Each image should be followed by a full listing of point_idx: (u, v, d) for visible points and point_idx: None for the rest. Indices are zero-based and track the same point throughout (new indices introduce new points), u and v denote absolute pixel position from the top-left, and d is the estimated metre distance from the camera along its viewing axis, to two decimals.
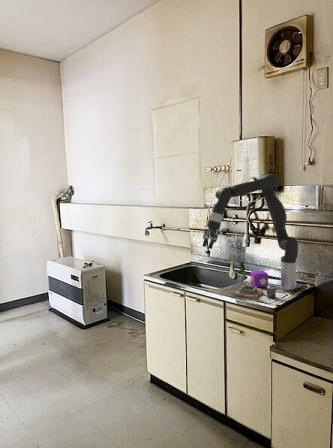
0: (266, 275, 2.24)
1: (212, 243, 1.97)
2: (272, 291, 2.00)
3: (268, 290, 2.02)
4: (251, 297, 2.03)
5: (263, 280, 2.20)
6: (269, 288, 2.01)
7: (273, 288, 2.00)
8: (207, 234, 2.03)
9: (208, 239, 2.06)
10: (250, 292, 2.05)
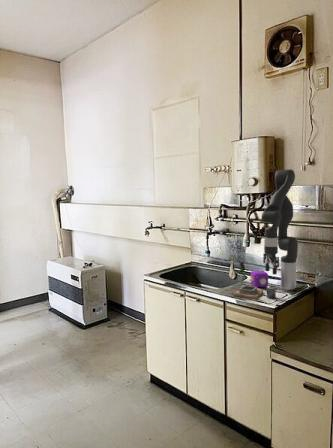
0: (266, 275, 2.24)
1: (275, 268, 1.97)
2: (272, 291, 2.00)
3: (268, 290, 2.01)
4: (251, 297, 2.03)
5: (263, 280, 2.20)
6: (269, 288, 2.01)
7: (273, 288, 2.00)
8: (267, 259, 2.02)
9: (269, 263, 2.05)
10: (250, 292, 2.05)
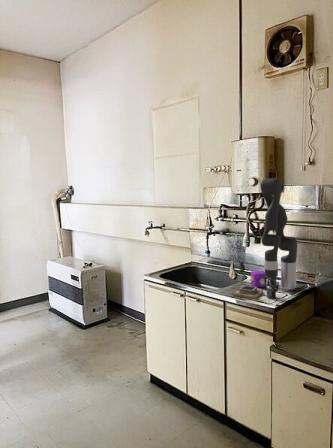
0: None
1: (274, 292, 1.99)
2: None
3: (268, 290, 2.01)
4: (251, 297, 2.03)
5: (263, 280, 2.20)
6: (269, 288, 2.01)
7: None
8: (268, 282, 2.03)
9: None
10: (250, 292, 2.05)
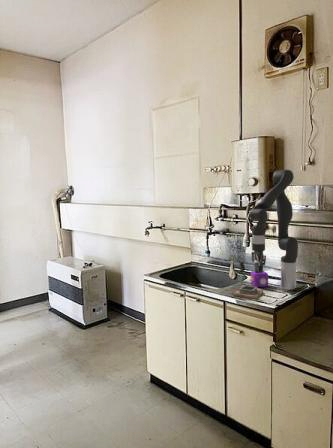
0: (266, 275, 2.24)
1: None
2: None
3: (255, 264, 2.04)
4: (251, 297, 2.03)
5: (263, 280, 2.20)
6: (256, 262, 2.03)
7: (260, 262, 2.03)
8: (255, 257, 2.06)
9: None
10: (250, 292, 2.05)
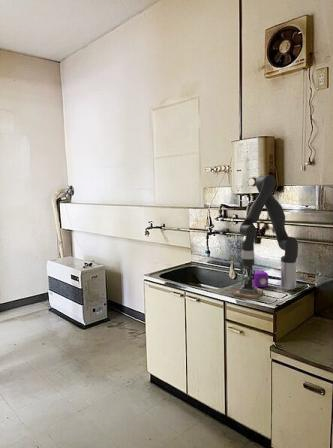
0: (266, 275, 2.24)
1: None
2: None
3: (245, 279, 2.09)
4: (251, 297, 2.03)
5: (263, 280, 2.20)
6: (246, 277, 2.08)
7: (249, 277, 2.07)
8: (245, 271, 2.10)
9: None
10: (250, 292, 2.05)
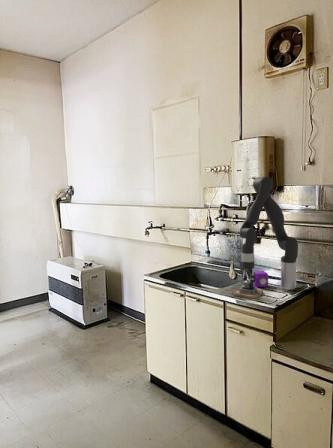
0: (266, 275, 2.24)
1: None
2: None
3: (245, 285, 2.09)
4: (251, 297, 2.03)
5: (263, 280, 2.20)
6: (246, 283, 2.08)
7: None
8: (244, 273, 2.11)
9: (247, 277, 2.14)
10: (250, 292, 2.05)
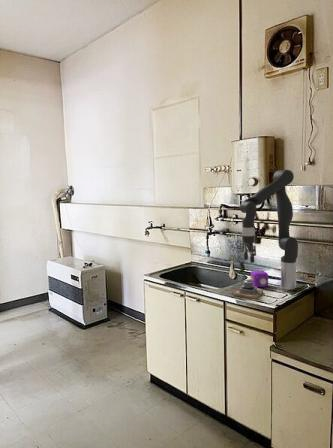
0: (266, 275, 2.24)
1: None
2: (249, 285, 2.08)
3: (245, 285, 2.09)
4: (251, 297, 2.03)
5: (263, 280, 2.20)
6: (246, 283, 2.08)
7: (249, 283, 2.08)
8: (245, 248, 2.10)
9: (248, 252, 2.12)
10: (250, 292, 2.05)
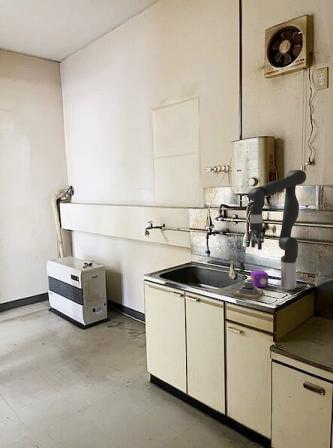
0: (266, 275, 2.24)
1: (260, 244, 2.04)
2: (249, 285, 2.08)
3: (245, 284, 2.09)
4: (251, 297, 2.03)
5: (263, 280, 2.20)
6: (246, 282, 2.08)
7: (250, 283, 2.08)
8: (253, 236, 2.10)
9: (255, 239, 2.13)
10: (250, 292, 2.05)
